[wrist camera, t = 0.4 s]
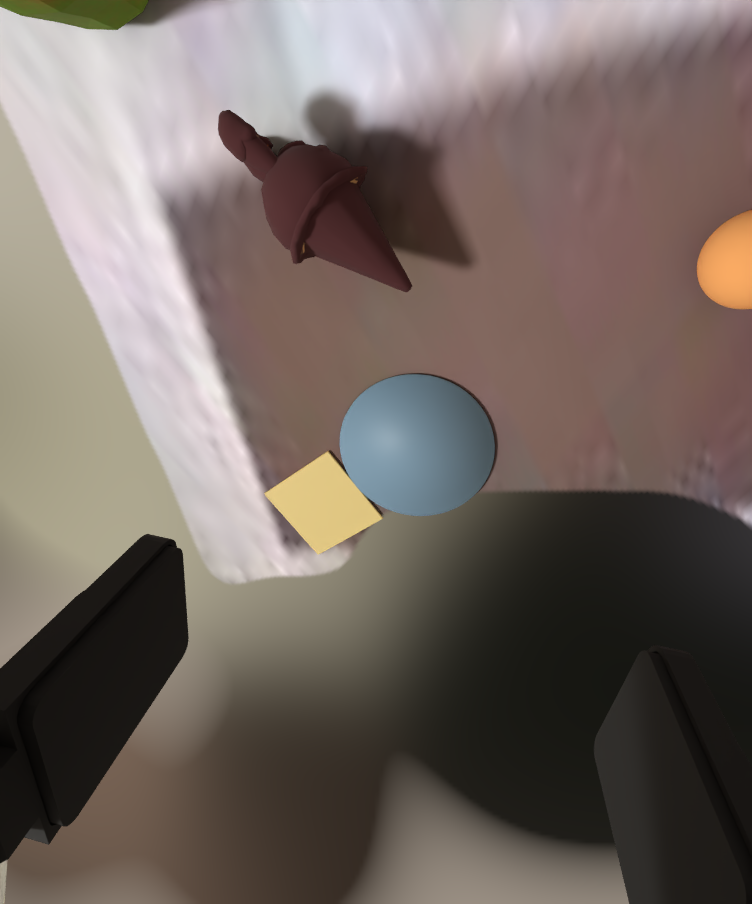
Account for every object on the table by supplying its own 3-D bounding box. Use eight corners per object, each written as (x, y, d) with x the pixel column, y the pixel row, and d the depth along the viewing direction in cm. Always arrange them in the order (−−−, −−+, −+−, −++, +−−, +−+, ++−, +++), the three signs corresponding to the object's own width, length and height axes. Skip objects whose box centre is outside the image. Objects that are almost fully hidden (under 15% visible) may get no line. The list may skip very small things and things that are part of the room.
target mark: (435, 341, 37) (435, 341, 36) (525, 470, 40) (525, 471, 40) (310, 428, 42) (309, 429, 41) (399, 537, 45) (398, 538, 45)
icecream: (452, 228, 28) (248, 43, 27) (368, 330, 29) (172, 158, 28) (445, 254, 34) (282, 108, 33) (377, 336, 36) (220, 198, 35)
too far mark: (328, 450, 42) (327, 451, 42) (382, 517, 44) (382, 518, 44) (264, 492, 45) (264, 493, 45) (318, 553, 47) (318, 554, 47)
